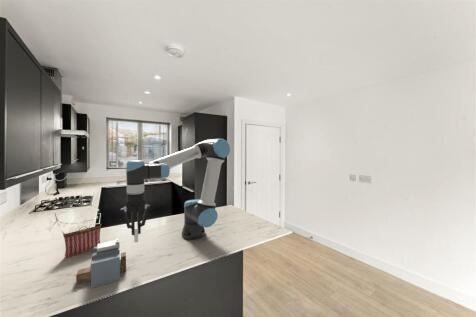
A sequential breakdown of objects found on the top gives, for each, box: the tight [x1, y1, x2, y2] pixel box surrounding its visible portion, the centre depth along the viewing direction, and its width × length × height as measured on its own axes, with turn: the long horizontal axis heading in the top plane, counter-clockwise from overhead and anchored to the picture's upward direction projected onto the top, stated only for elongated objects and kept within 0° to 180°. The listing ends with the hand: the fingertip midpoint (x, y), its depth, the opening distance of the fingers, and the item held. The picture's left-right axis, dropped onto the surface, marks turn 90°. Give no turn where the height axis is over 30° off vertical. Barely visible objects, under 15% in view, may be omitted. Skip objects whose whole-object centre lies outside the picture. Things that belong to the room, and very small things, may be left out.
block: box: [90, 244, 121, 289], centre depth 88 cm, size 10×16×12 cm, turn 32°
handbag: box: [52, 213, 102, 259], centre depth 103 cm, size 7×21×25 cm, turn 141°
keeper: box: [97, 237, 120, 254], centre depth 88 cm, size 8×5×4 cm, turn 122°
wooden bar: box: [75, 251, 127, 285], centre depth 87 cm, size 18×4×7 cm, turn 121°
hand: (136, 240), depth 94 cm, fingers closed
